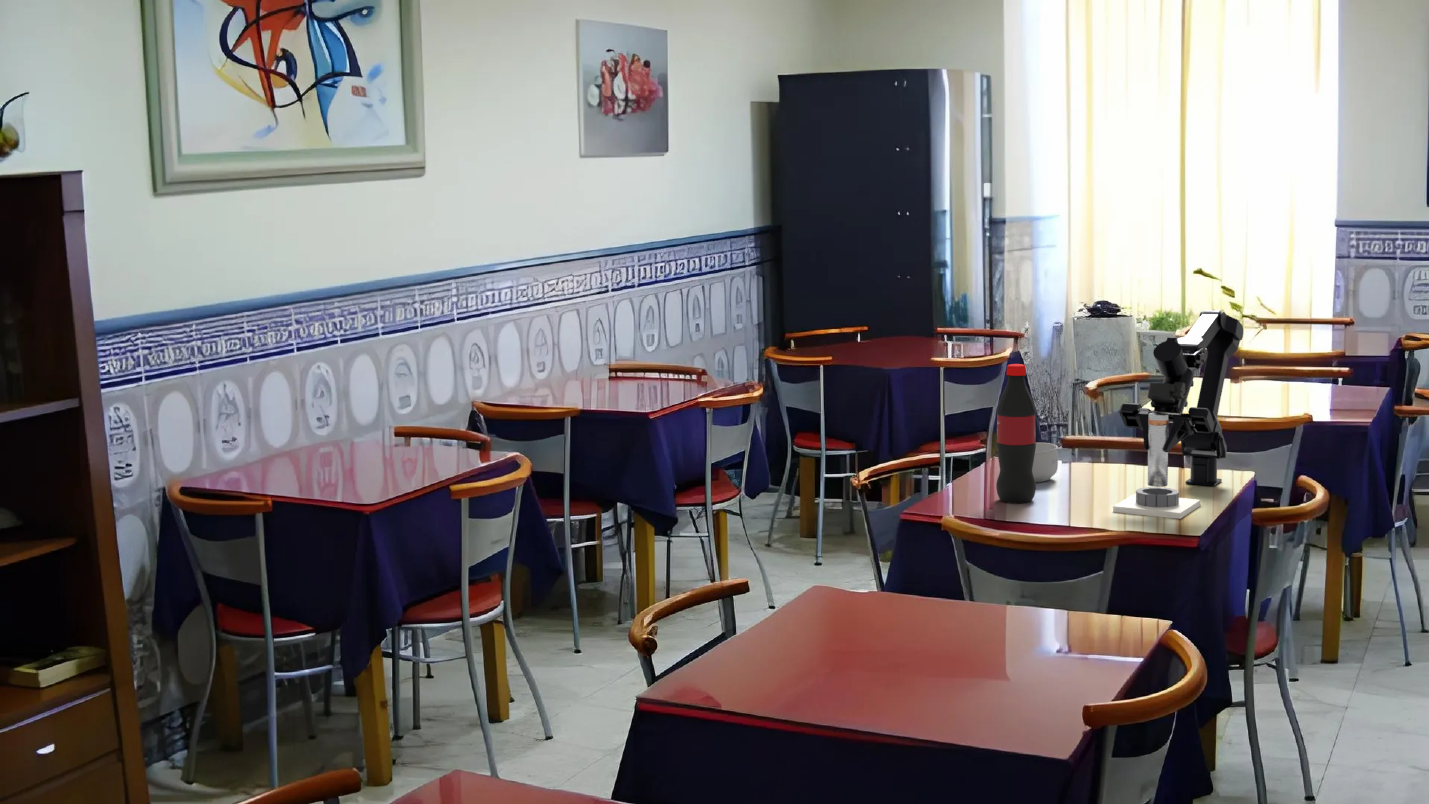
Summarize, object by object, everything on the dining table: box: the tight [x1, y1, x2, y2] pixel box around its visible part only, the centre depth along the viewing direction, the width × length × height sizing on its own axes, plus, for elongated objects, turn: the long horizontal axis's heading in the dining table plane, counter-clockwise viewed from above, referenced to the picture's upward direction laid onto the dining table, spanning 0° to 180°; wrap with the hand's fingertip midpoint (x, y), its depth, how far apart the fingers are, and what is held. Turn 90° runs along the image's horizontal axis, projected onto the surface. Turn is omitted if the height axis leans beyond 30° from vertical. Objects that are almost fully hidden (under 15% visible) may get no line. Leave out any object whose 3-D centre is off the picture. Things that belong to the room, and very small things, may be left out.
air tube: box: [1147, 413, 1170, 488], centre depth 304 cm, size 4×4×15 cm
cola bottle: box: [995, 363, 1037, 504], centre depth 315 cm, size 8×8×30 cm
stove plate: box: [1112, 486, 1202, 520], centre depth 305 cm, size 14×14×4 cm
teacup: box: [1032, 442, 1059, 483], centre depth 339 cm, size 14×11×8 cm
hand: (1155, 450), depth 303 cm, fingers closed on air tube, 4 cm apart
